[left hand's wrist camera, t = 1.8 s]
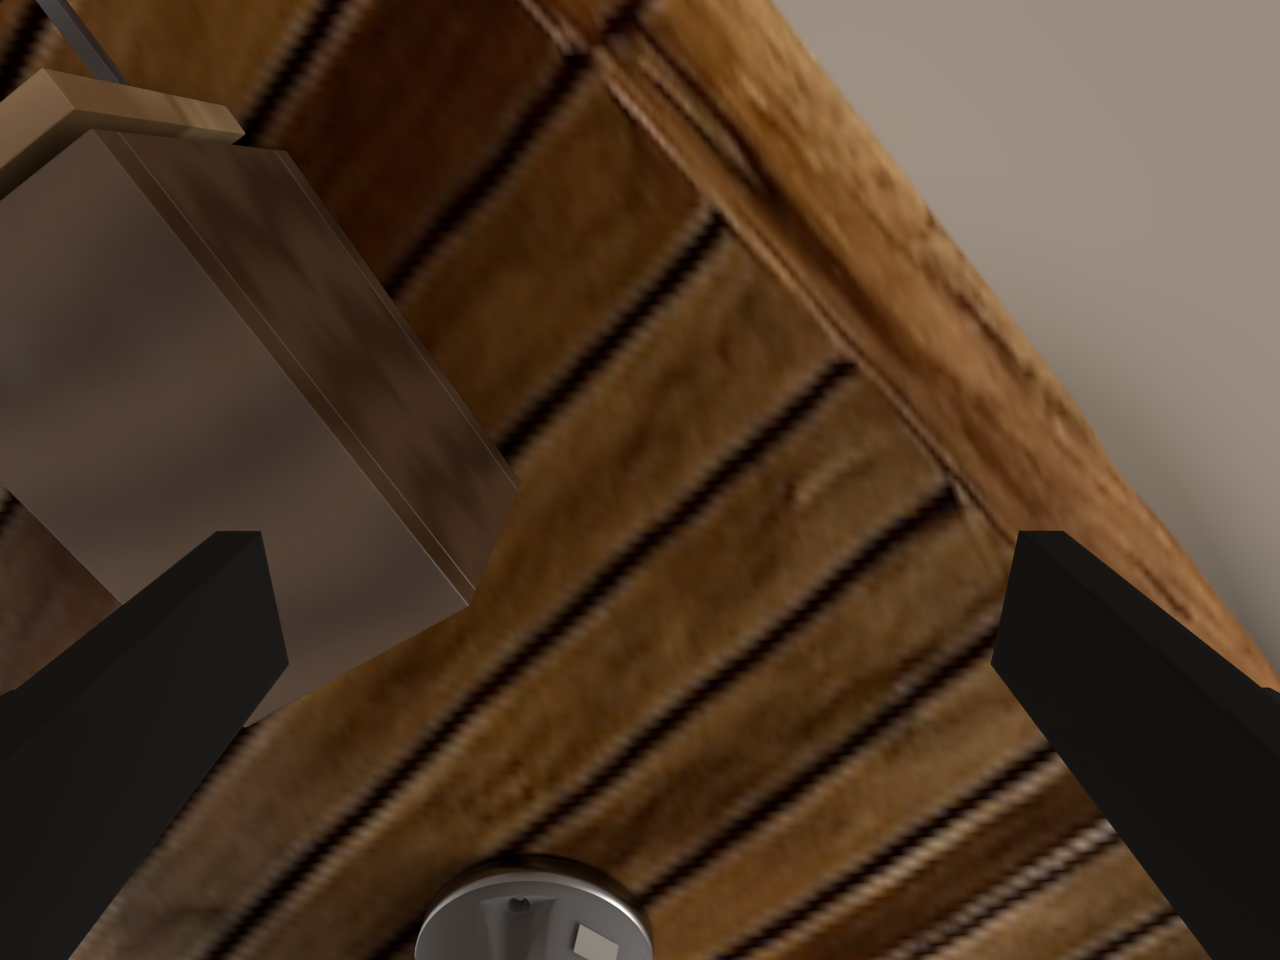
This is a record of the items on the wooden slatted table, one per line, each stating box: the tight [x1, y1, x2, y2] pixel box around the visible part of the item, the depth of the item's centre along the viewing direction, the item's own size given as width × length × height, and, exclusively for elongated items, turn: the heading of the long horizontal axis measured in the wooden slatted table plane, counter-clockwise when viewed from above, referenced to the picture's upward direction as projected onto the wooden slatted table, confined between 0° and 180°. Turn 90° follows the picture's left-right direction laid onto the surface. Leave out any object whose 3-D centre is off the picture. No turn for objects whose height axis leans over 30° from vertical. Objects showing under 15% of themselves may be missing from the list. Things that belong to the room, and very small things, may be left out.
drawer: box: [0, 0, 245, 201], centre depth 27 cm, size 22×9×10 cm, turn 31°
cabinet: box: [0, 129, 521, 727], centre depth 29 cm, size 18×10×12 cm, turn 31°
